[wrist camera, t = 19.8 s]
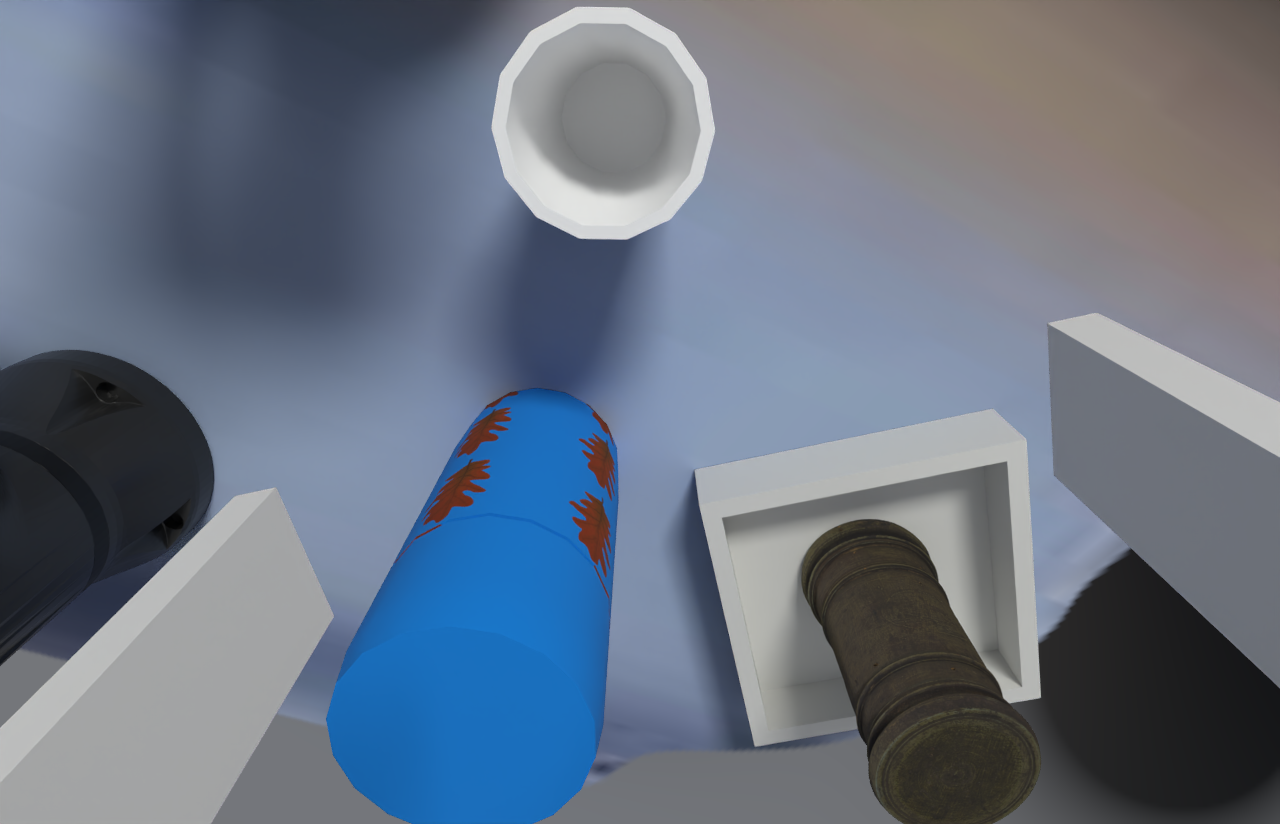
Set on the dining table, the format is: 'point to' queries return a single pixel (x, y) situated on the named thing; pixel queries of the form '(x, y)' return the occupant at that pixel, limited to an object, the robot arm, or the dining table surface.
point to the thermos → (490, 627)
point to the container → (916, 681)
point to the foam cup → (603, 123)
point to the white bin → (886, 490)
